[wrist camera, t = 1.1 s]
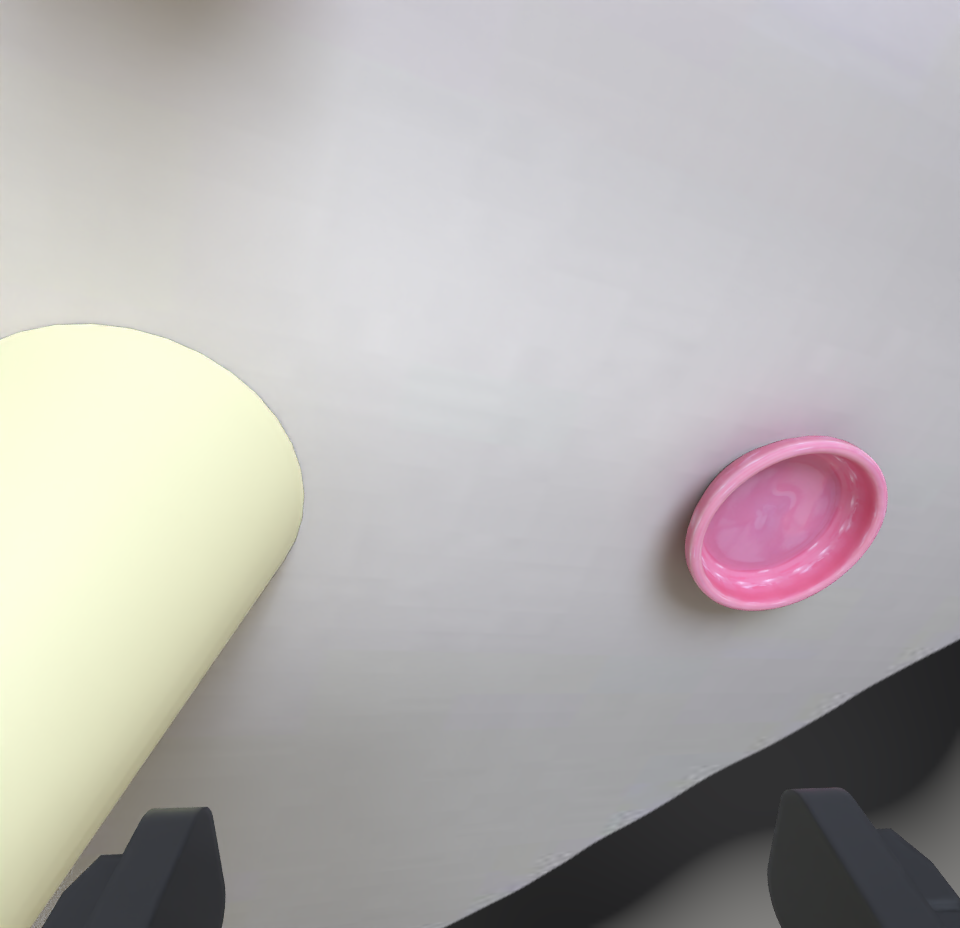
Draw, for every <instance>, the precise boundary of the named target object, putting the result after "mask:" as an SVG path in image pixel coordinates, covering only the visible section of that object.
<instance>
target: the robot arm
mask: <svg viewBox="0 0 960 928" xmlns="http://www.w3.org/2000/svg"><path fill="white" fill-rule="evenodd" d="M767 875H768V886H769V892H770V897H771V901H772V905H773V908H774V911H775V914H776V916H777V919H778V921H779V923H780V925H781V928H960V898H959V897H958V895H957V894H956V893H955V892H954V890H953V889H952V888H951V886H950V885H949V884H948V882H947V881H946V880H945V879H944V877H943V876H942V875H941V873H940V872H939V871H938V869H937V868H936V867H935V866H934V864H933V863H932V862H931V861H930V860H929V859H928V858H926V857H925V856H924V855H923V854H921V853H920V852H919V851H918V850H916V849H915V848H914V847H913V846H912V845H910V844H909V843H908V842H907V841H905V840H904V839H903V838H902V837H901V836H899V835H898V834H897V833H896V832H894V831H893V830H892V829H875V827H874V826H873V825H872V823H871V822H870V820H869V819H868V818H867V816H866V815H865V814H864V812H863V811H862V809H861V808H860V807H859V805H858V804H857V802H856V801H855V800H854V798H853V797H852V796H851V795H850V794H849V793H848V792H847V791H846V790H844V789H842V788H811V789H788V790H785V791H784V792H783V794H782V796H781V800H780V804H779V810H778V815H777V821H776V826H775V831H774V837H773V842H772V847H771V852H770V858H769V863H768V874H767ZM224 909H225V884H224V878H223V872H222V866H221V860H220V855H219V849H218V843H217V837H216V832H215V826H214V820H213V815H212V812H211V810H210V809H209V808H208V807H192V808H163V809H151V810H149V811H148V812H147V813H146V814H145V815H144V816H143V818H142V819H141V821H140V823H139V825H138V827H137V828H136V830H135V832H134V834H133V836H132V838H131V840H130V842H129V843H128V845H127V847H126V849H125V851H124V853H123V854H117V855H101V856H100V857H99V858H98V859H97V860H96V861H95V862H94V863H93V864H92V865H91V866H90V867H89V868H88V869H87V870H85V871H84V872H83V873H82V874H81V875H80V876H79V877H78V878H77V879H76V880H75V881H74V882H73V883H72V884H71V885H70V886H69V887H68V888H67V889H66V890H65V891H64V892H63V893H62V895H61V897H60V898H59V900H58V902H57V903H56V905H55V907H54V909H53V910H52V912H51V914H50V915H49V917H48V919H47V920H46V922H45V924H44V925H43V927H42V928H222V923H223V917H224Z"/></svg>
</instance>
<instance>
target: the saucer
mask: <svg viewBox="0 0 960 928" xmlns="http://www.w3.org/2000/svg"><path fill="white" fill-rule="evenodd" d="M887 499H888V495H887V486H886V481H885V478H884V475H883V473H882V471H881V469H880V468H879V466H878V465H877V463H876V462H875V461H874V460H873V459H872V458H871V457H870V456H869V455H868V454H867V453H865V452H864V451H862V450H861V449H860V448H858V447H856V446H855V445H853V444H851V443H849V442H846V441H844V440H841V439H837V438H833V437H827V436H805V437H797V438H791V439H785V440H781V441H777V442H774V443H771V444H768V445H766V446H763V447H760V448H757V449H755V450H753V451H750V452H748V453H746V454H744V455H743V456H741V457H739V458H738V459H736V460H735V461H733V462H732V463H731V464H729V465H728V466H727V467H726V468H725V469H724V470H722V471H721V472H720V473H719V474H718V475H717V476H716V478H715V479H714V480H713V481H712V482H711V483H710V485H709V486H708V488H707V489H706V491H705V492H704V494H703V495H702V497H701V499H700V501H699V502H698V504H697V506H696V508H695V510H694V512H693V515H692V517H691V521H690V524H689V526H688V530H687V535H686V540H685V557H686V562H687V566H688V569H689V571H690V573H691V575H692V577H693V579H694V580H695V582H696V584H697V585H698V587H699V588H700V589H701V590H702V591H703V593H704V594H706V595H707V596H708V597H709V598H710V599H712V600H713V601H715V602H717V603H718V604H721V605H723V606H726V607H729V608H733V609H738V610H745V611H762V610H769V609H775V608H780V607H784V606H787V605H790V604H793V603H796V602H799V601H801V600H804V599H806V598H808V597H810V596H812V595H814V594H816V593H818V592H819V591H821V590H823V589H824V588H826V587H828V586H829V585H831V584H832V583H833V582H835V581H836V580H837V579H839V578H840V577H841V576H842V575H843V574H845V573H846V572H847V571H848V570H849V569H850V568H851V567H852V566H853V565H854V564H855V563H856V562H857V561H858V560H859V559H860V558H861V557H862V556H863V554H864V553H865V552H866V551H867V549H868V548H869V547H870V545H871V544H872V542H873V541H874V539H875V537H876V535H877V534H878V532H879V530H880V528H881V525H882V523H883V520H884V517H885V513H886V509H887Z"/></svg>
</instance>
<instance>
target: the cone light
mask: <svg viewBox="0 0 960 928" xmlns="http://www.w3.org/2000/svg"><path fill="white" fill-rule="evenodd" d="M303 501H304V490H303V483H302V475H301V469H300V466H299V463H298V460H297V457H296V454H295V452H294V449H293V446H292V443H291V442H290V440H289V438H288V436H287V435H286V433H285V431H284V429H283V428H282V426H281V424H280V423H279V421H278V419H277V418H276V417H275V415H274V414H273V413H272V412H271V411H270V409H269V408H268V407H267V406H266V405H265V403H264V402H263V401H262V400H261V399H260V398H259V396H258V395H257V394H256V393H255V392H253V391H252V390H251V389H250V388H249V387H248V386H246V385H245V384H244V383H243V382H242V381H241V380H239V379H238V378H237V377H236V376H235V375H234V374H233V373H231V372H230V371H228V370H226V369H225V368H223V367H222V366H220V365H219V364H217V363H215V362H214V361H212V360H211V359H209V358H207V357H206V356H204V355H203V354H201V353H198V352H196V351H194V350H192V349H189V348H187V347H185V346H183V345H180V344H178V343H176V342H173V341H171V340H169V339H166V338H163V337H159V336H155V335H152V334H148V333H145V332H141V331H137V330H134V329H130V328H122V327H114V326H106V325H98V324H72V325H53V326H48V327H42V328H37V329H32V330H27V331H22V332H18V333H16V334H13V335H11V336H8V337H6V338H3V339H1V340H0V928H31V926H32V925H33V923H34V922H35V921H36V919H37V918H38V916H39V915H40V913H41V912H42V910H43V909H44V908H45V906H46V905H47V903H48V902H49V900H50V899H51V897H52V896H53V894H54V893H55V892H56V890H57V889H58V887H59V886H60V884H61V883H62V881H63V880H64V879H65V877H66V876H67V874H68V873H69V871H70V870H71V868H72V867H73V866H74V864H75V863H76V861H77V860H78V858H79V857H80V855H81V854H82V852H83V851H84V850H85V848H86V847H87V845H88V844H89V842H90V841H91V839H92V838H93V837H94V835H95V834H96V832H97V831H98V829H99V828H100V826H101V825H102V823H103V822H104V821H105V819H106V818H107V816H108V815H109V813H110V812H111V810H112V809H113V808H114V806H115V805H116V803H117V802H118V800H119V799H120V797H121V796H122V795H123V793H124V792H125V790H126V789H127V787H128V786H129V784H130V783H131V781H132V780H133V779H134V777H135V776H136V774H137V773H138V771H139V770H140V768H141V767H142V766H143V764H144V763H145V761H146V760H147V758H148V757H149V755H150V754H151V752H152V751H153V750H154V748H155V747H156V745H157V744H158V742H159V741H160V739H161V738H162V737H163V735H164V734H165V732H166V731H167V729H168V728H169V726H170V725H171V724H172V722H173V721H174V719H175V718H176V716H177V715H178V713H179V712H180V710H181V709H182V708H183V706H184V705H185V703H186V702H187V700H188V699H189V697H190V696H191V695H192V693H193V692H194V690H195V689H196V687H197V686H198V684H199V683H200V681H201V680H202V679H203V677H204V676H205V674H206V673H207V671H208V670H209V668H210V667H211V666H212V664H213V663H214V661H215V660H216V658H217V657H218V655H219V654H220V653H221V651H222V650H223V648H224V647H225V645H226V644H227V642H228V641H229V639H230V638H231V637H232V635H233V634H234V632H235V631H236V629H237V628H238V626H239V625H240V624H241V622H242V621H243V619H244V618H245V616H246V615H247V613H248V612H249V610H250V609H251V608H252V606H253V605H254V603H255V602H256V600H257V599H258V597H259V596H260V595H261V593H262V592H263V590H264V589H265V587H266V586H267V584H268V583H269V582H270V580H271V579H272V577H273V576H274V574H275V573H276V571H277V570H278V568H279V567H280V566H281V564H282V563H283V561H284V560H285V558H286V556H287V554H288V553H289V551H290V549H291V547H292V545H293V543H294V542H295V540H296V537H297V533H298V530H299V527H300V523H301V520H302V514H303Z"/></svg>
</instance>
